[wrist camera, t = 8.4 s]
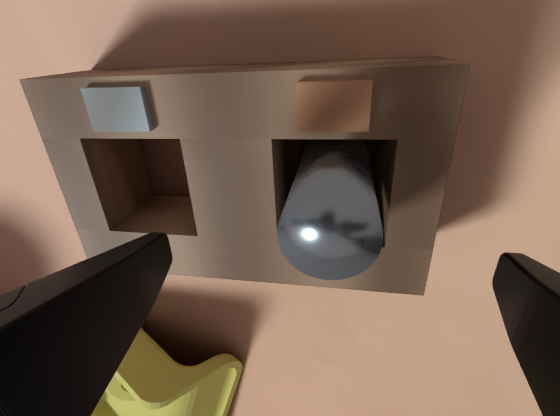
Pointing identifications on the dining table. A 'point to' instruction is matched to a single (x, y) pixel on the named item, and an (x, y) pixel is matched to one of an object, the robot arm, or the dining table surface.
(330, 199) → the plug
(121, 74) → the board
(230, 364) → the plastic component
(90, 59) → the dining table surface
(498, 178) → the dining table surface
